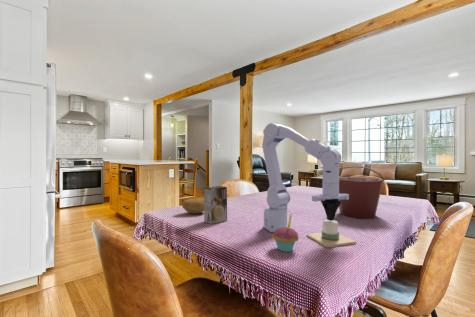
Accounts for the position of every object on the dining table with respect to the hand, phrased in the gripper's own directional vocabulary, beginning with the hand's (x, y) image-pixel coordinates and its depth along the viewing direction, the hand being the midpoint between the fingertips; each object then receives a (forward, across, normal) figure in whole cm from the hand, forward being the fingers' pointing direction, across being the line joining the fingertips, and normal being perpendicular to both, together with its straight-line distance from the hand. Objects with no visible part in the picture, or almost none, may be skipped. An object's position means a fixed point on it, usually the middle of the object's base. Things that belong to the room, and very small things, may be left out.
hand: (330, 219), depth 91 cm
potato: (+8, -42, +55) cm, 70 cm away
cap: (+4, 0, 0) cm, 5 cm away
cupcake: (+8, -20, -3) cm, 22 cm away
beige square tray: (+7, 0, 0) cm, 7 cm away
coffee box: (+8, -35, +37) cm, 51 cm away
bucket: (+8, +38, +28) cm, 48 cm away
